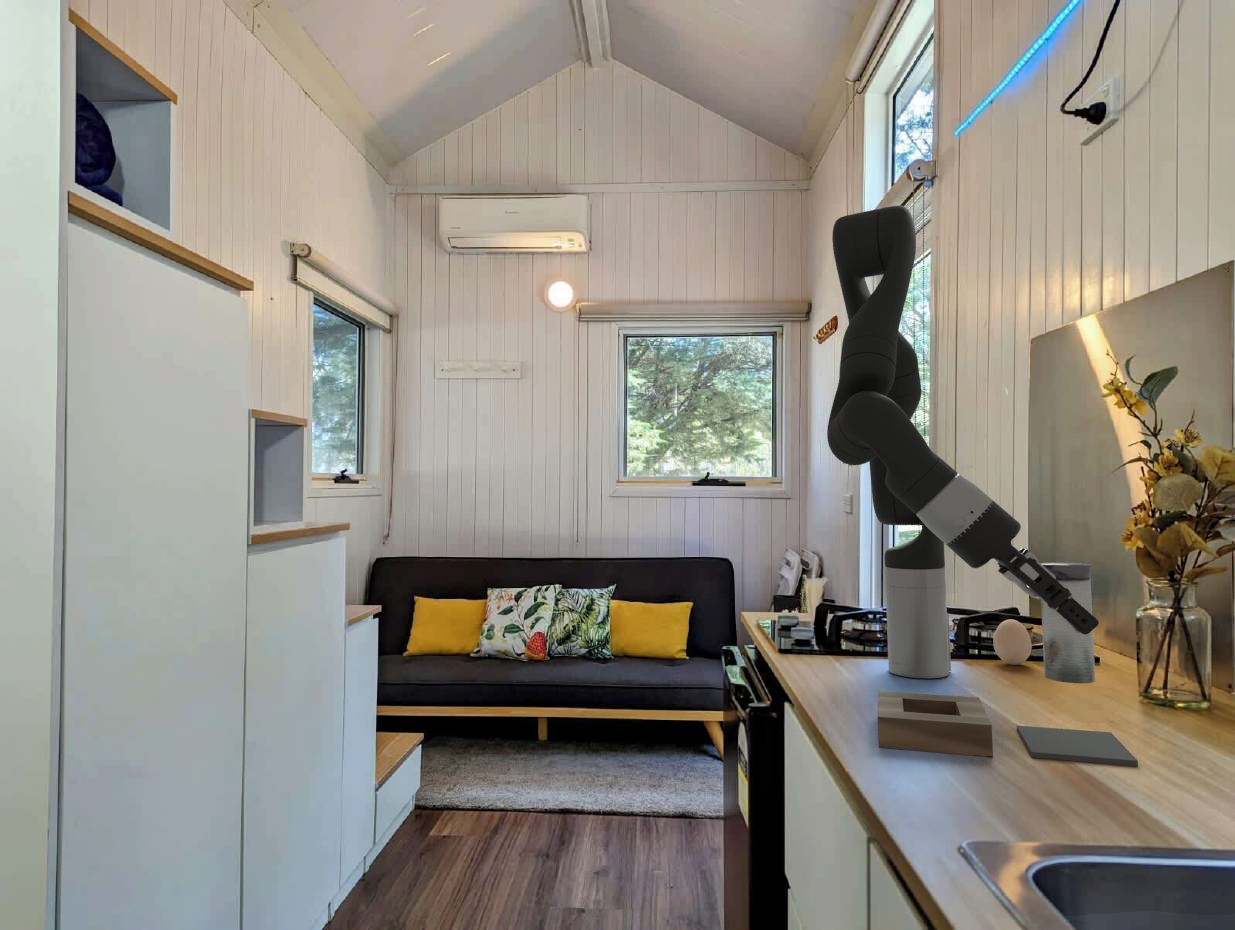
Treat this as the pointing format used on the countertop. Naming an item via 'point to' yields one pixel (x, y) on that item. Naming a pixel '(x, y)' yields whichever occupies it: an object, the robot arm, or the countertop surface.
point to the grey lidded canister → (1068, 628)
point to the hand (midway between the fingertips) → (1085, 624)
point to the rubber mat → (1075, 745)
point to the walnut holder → (934, 723)
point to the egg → (1012, 642)
